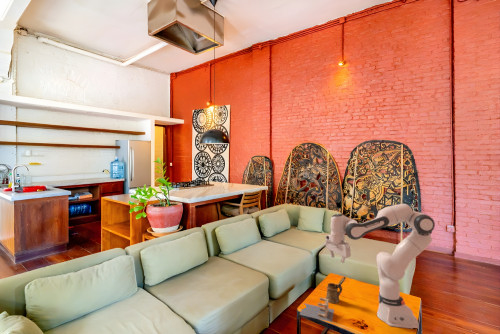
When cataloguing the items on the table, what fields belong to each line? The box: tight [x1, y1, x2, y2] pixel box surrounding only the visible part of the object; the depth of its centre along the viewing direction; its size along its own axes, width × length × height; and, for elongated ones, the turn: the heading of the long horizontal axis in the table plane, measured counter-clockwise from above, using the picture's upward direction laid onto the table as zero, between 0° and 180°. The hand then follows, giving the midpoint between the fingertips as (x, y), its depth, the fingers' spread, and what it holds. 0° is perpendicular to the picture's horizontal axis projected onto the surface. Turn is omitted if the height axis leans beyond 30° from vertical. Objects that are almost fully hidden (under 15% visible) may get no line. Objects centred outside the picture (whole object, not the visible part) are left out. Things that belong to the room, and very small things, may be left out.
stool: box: [317, 297, 329, 318], centre depth 165 cm, size 6×8×8 cm
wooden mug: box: [325, 276, 346, 304], centre depth 180 cm, size 9×14×18 cm, turn 72°
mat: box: [299, 303, 335, 323], centre depth 167 cm, size 20×14×1 cm
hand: (337, 259), depth 167 cm, fingers open, 8 cm apart
